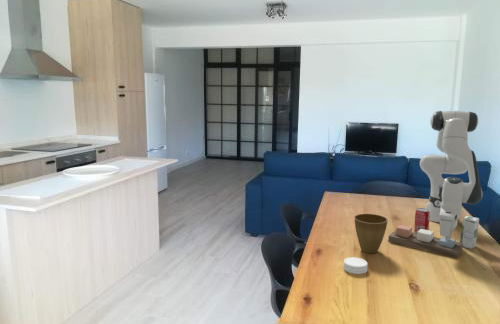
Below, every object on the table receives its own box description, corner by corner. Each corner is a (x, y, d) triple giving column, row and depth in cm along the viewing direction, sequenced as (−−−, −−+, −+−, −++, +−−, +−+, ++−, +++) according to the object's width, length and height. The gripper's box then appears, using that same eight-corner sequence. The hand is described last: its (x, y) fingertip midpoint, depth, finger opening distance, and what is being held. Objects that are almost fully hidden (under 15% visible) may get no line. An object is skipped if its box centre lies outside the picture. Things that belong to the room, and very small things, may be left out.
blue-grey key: (441, 244, 184) (442, 236, 183) (455, 247, 180) (455, 239, 180) (438, 248, 179) (439, 240, 179) (452, 251, 176) (453, 243, 175)
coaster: (363, 277, 153) (364, 268, 153) (339, 271, 158) (340, 263, 158) (370, 267, 162) (370, 260, 161) (347, 262, 167) (347, 254, 166)
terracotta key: (399, 231, 196) (400, 224, 195) (411, 234, 192) (412, 227, 192) (395, 235, 191) (396, 227, 191) (408, 237, 188) (408, 230, 187)
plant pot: (385, 246, 184) (387, 215, 181) (385, 258, 170) (387, 224, 168) (353, 242, 189) (355, 211, 186) (351, 254, 175) (353, 221, 172)
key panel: (396, 234, 201) (396, 229, 200) (462, 249, 182) (462, 243, 181) (388, 241, 191) (388, 235, 190) (456, 257, 172) (457, 251, 171)
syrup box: (463, 242, 190) (466, 215, 187) (476, 246, 185) (479, 218, 183) (459, 246, 186) (462, 217, 183) (472, 249, 181) (476, 220, 179)
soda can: (429, 235, 199) (432, 211, 197) (415, 234, 201) (417, 211, 198) (426, 231, 206) (428, 208, 204) (412, 230, 208) (414, 207, 205)
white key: (420, 236, 190) (420, 228, 189) (432, 239, 186) (433, 231, 185) (416, 239, 185) (417, 232, 185) (429, 242, 182) (430, 234, 181)
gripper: (447, 206, 187) (445, 232, 189) (438, 215, 171) (435, 244, 173) (462, 208, 183) (459, 235, 185) (453, 218, 167) (450, 248, 169)
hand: (447, 240), depth 179 cm, fingers closed
